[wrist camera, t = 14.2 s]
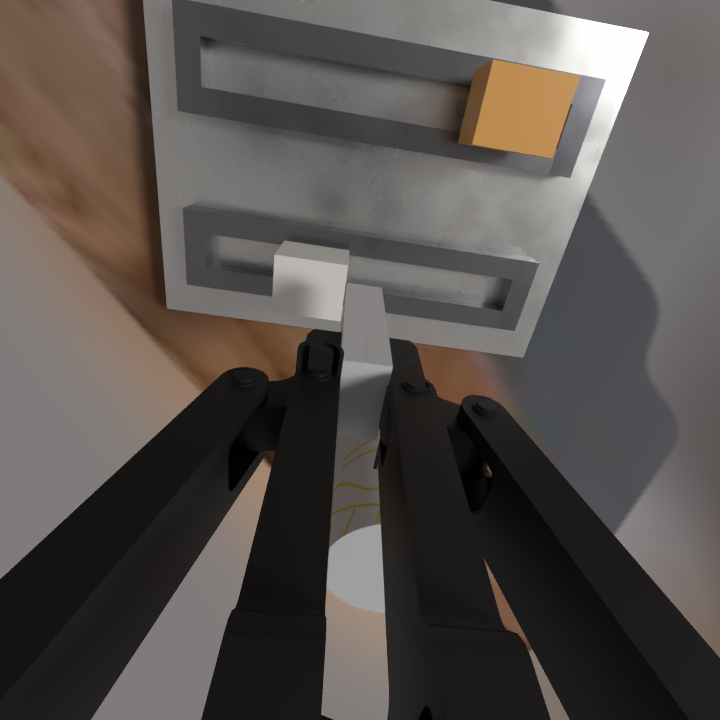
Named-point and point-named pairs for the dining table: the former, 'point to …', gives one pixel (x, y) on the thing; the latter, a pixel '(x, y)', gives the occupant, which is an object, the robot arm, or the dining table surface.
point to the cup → (356, 526)
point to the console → (370, 156)
